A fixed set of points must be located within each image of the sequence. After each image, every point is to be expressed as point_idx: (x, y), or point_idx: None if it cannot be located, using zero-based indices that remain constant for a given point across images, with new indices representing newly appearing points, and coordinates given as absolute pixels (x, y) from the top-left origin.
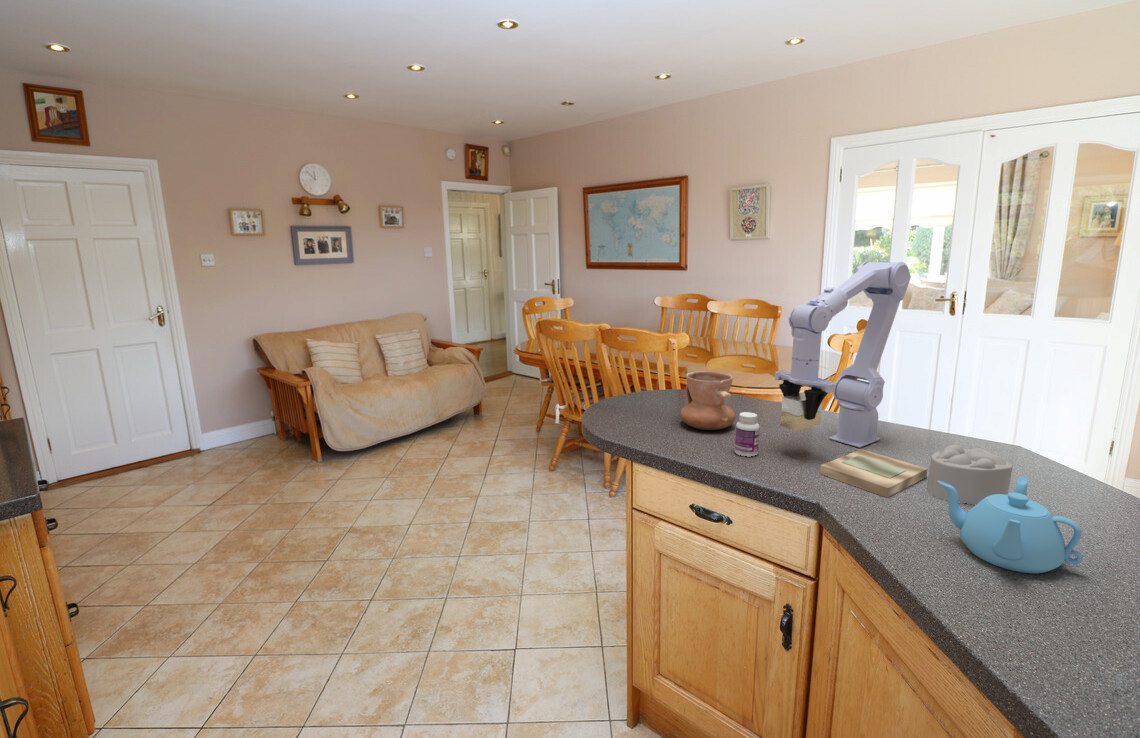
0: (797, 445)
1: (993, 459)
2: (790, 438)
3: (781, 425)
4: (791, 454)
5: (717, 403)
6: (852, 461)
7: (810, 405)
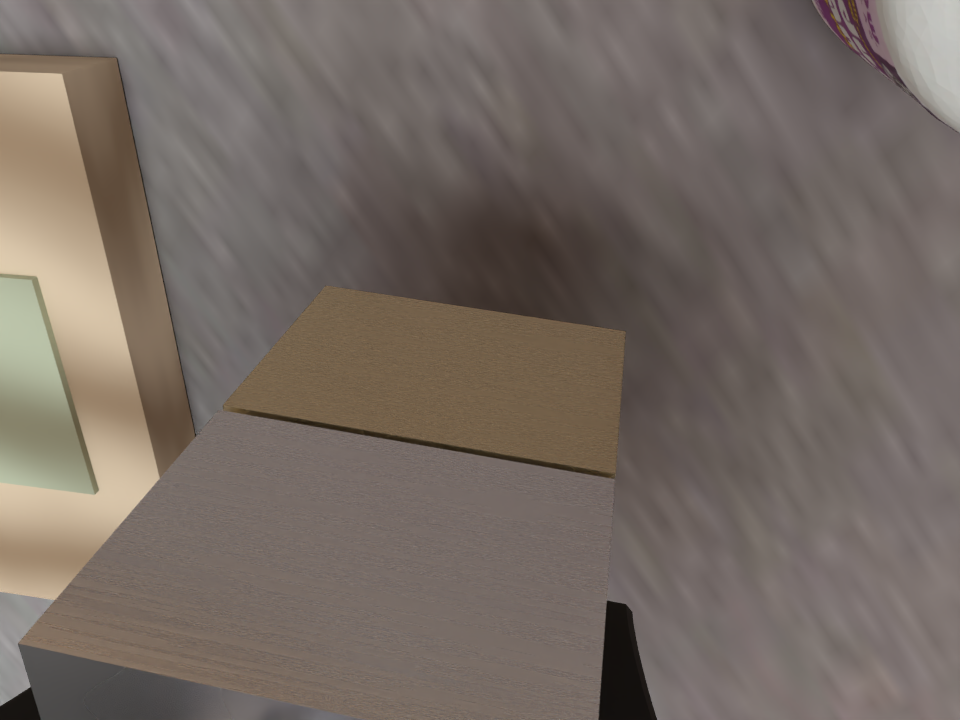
0: (644, 506)
1: None
2: (777, 605)
3: (603, 329)
4: (555, 287)
5: None
6: (17, 353)
7: (18, 699)
